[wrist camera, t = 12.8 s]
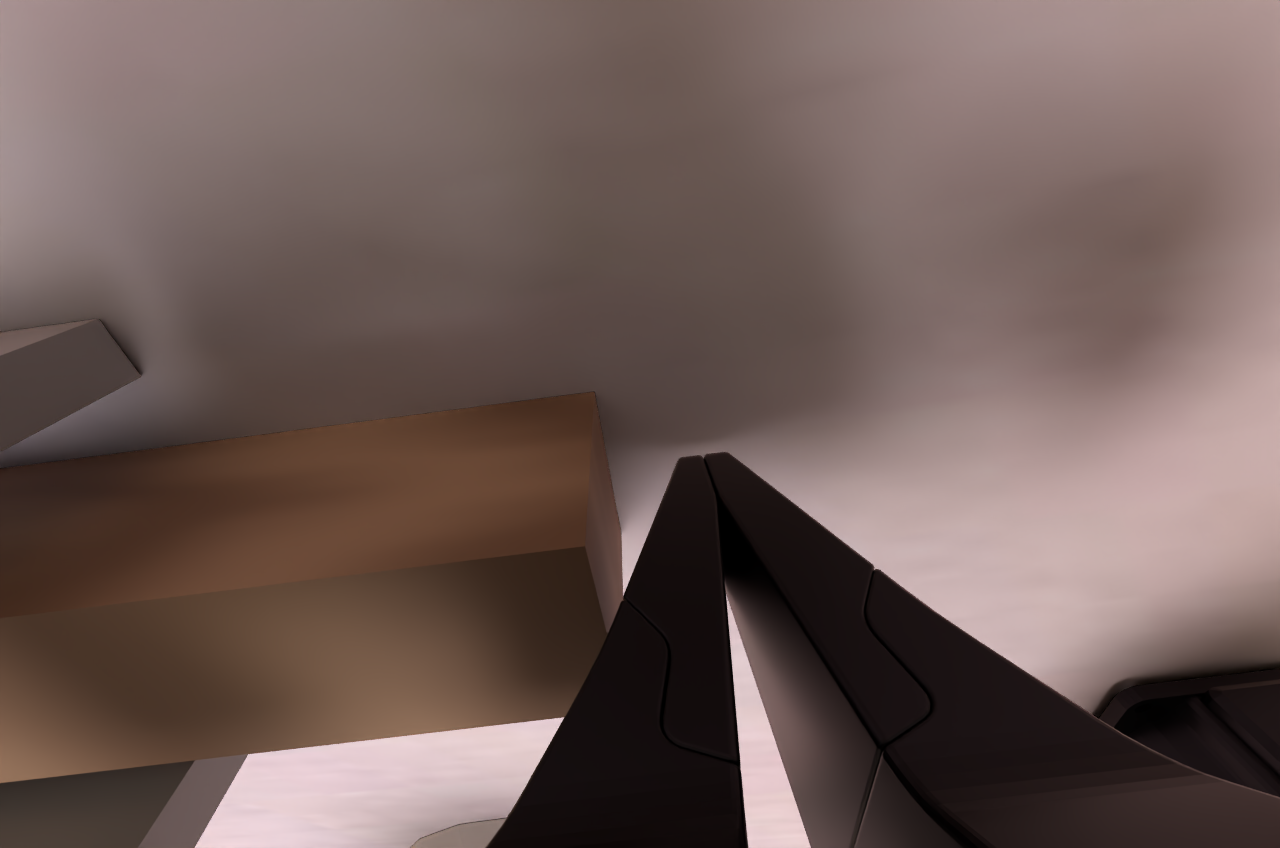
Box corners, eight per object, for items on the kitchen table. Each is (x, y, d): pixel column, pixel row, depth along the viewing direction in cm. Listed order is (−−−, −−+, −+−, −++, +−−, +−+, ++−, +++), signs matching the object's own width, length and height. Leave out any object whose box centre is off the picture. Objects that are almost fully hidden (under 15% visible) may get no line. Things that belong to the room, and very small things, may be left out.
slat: (8, 599, 11) (-261, 813, 8) (-141, 479, 9) (-589, 690, 6) (621, 524, 11) (626, 709, 7) (594, 384, 9) (585, 545, 5)
